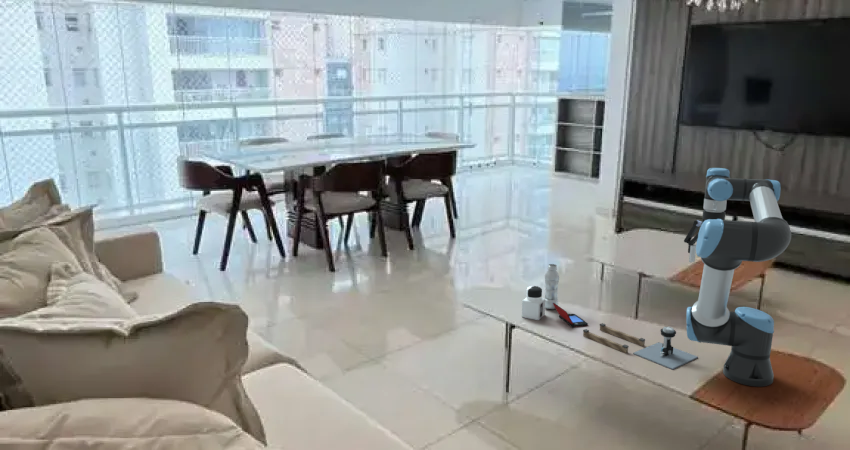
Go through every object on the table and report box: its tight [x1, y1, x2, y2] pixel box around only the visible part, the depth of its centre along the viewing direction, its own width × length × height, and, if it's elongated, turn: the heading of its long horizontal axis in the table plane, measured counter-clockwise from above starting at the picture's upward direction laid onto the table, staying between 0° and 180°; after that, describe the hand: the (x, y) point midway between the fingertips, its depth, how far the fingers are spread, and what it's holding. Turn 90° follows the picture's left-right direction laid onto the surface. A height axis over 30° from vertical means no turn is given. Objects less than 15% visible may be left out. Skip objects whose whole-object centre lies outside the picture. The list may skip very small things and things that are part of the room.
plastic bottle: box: [544, 263, 560, 310], centre depth 269 cm, size 6×7×20 cm
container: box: [521, 285, 546, 321], centre depth 261 cm, size 8×8×13 cm
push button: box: [659, 326, 677, 356], centre depth 222 cm, size 7×5×10 cm
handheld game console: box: [553, 303, 589, 328], centre depth 255 cm, size 12×11×7 cm
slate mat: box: [632, 341, 699, 370], centre depth 223 cm, size 16×16×1 cm
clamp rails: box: [582, 322, 646, 354], centre depth 237 cm, size 20×12×3 cm, turn 36°
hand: (708, 265), depth 228 cm, fingers open, 13 cm apart
